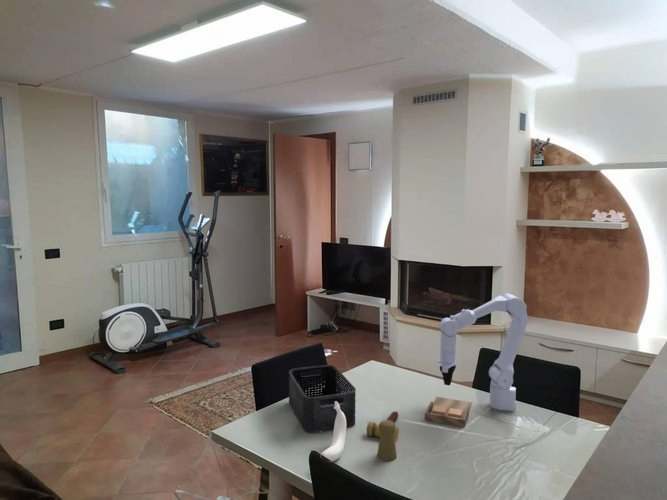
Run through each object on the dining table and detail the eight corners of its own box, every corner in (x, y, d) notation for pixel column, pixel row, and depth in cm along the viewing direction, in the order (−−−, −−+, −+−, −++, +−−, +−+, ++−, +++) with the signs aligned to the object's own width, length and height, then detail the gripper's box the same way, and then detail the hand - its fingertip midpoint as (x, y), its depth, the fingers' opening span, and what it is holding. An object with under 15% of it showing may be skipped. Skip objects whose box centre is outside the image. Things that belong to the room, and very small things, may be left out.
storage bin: (358, 427, 164) (358, 390, 163) (305, 435, 158) (305, 397, 157) (333, 395, 191) (333, 363, 190) (287, 401, 185) (286, 369, 184)
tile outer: (446, 413, 172) (447, 407, 171) (444, 419, 168) (444, 412, 167) (434, 411, 173) (434, 405, 173) (432, 416, 169) (432, 410, 169)
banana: (320, 471, 136) (319, 423, 135) (334, 439, 155) (334, 397, 153) (336, 473, 135) (336, 425, 134) (348, 441, 154) (348, 398, 152)
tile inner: (462, 416, 169) (462, 410, 169) (460, 422, 165) (460, 415, 165) (449, 414, 171) (450, 408, 171) (447, 419, 167) (448, 413, 167)
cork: (396, 451, 147) (396, 418, 146) (397, 461, 141) (397, 427, 140) (377, 450, 148) (377, 417, 147) (377, 460, 142) (377, 426, 141)
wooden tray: (472, 404, 182) (472, 396, 181) (464, 429, 162) (465, 420, 161) (436, 398, 187) (436, 390, 187) (424, 421, 167) (424, 413, 167)
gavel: (384, 403, 175) (410, 408, 172) (383, 415, 176) (409, 420, 172) (366, 424, 156) (395, 430, 152) (366, 438, 156) (395, 443, 152)
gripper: (440, 343, 185) (440, 376, 186) (434, 354, 171) (433, 390, 173) (459, 345, 182) (458, 379, 183) (453, 356, 168) (452, 392, 170)
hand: (447, 384), depth 178 cm, fingers closed
